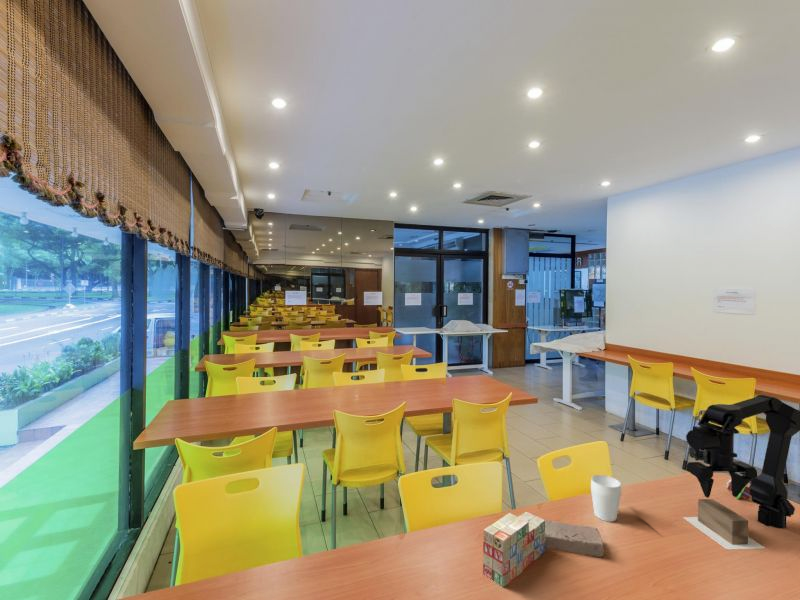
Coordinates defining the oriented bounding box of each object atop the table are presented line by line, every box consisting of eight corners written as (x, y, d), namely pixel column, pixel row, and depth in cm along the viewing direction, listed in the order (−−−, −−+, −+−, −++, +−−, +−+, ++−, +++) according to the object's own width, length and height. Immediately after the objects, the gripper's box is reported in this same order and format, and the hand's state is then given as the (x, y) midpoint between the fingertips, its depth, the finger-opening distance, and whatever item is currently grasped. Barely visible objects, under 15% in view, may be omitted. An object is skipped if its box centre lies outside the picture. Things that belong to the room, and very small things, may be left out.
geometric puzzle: (754, 491, 143) (738, 471, 145) (762, 499, 137) (745, 479, 139) (734, 499, 145) (719, 479, 147) (742, 508, 139) (725, 487, 141)
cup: (621, 514, 130) (621, 479, 130) (619, 527, 123) (620, 490, 122) (591, 506, 135) (592, 472, 135) (588, 518, 127) (589, 482, 127)
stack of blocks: (525, 541, 115) (526, 501, 115) (545, 552, 110) (546, 510, 110) (482, 574, 101) (483, 528, 101) (502, 588, 96) (503, 540, 96)
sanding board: (717, 521, 127) (717, 516, 127) (765, 553, 111) (765, 548, 111) (682, 521, 126) (682, 517, 126) (726, 554, 110) (726, 549, 110)
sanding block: (712, 520, 124) (712, 499, 124) (748, 544, 112) (748, 520, 112) (697, 520, 124) (698, 499, 124) (731, 544, 112) (732, 520, 112)
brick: (541, 548, 112) (542, 532, 112) (540, 531, 120) (540, 516, 120) (604, 560, 107) (604, 544, 107) (598, 542, 115) (598, 527, 115)
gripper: (725, 437, 128) (725, 483, 128) (672, 438, 127) (672, 484, 127) (759, 450, 117) (758, 501, 117) (701, 451, 116) (700, 502, 116)
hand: (720, 496), depth 119 cm, fingers open, 9 cm apart
